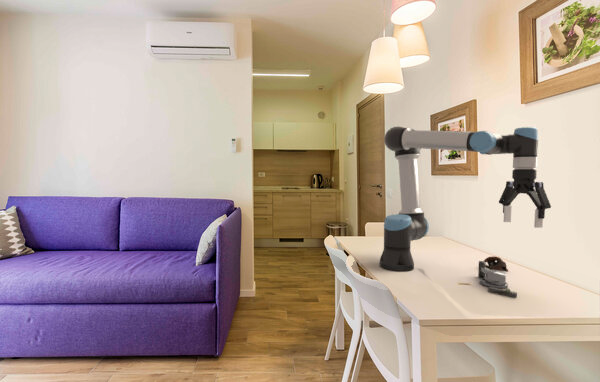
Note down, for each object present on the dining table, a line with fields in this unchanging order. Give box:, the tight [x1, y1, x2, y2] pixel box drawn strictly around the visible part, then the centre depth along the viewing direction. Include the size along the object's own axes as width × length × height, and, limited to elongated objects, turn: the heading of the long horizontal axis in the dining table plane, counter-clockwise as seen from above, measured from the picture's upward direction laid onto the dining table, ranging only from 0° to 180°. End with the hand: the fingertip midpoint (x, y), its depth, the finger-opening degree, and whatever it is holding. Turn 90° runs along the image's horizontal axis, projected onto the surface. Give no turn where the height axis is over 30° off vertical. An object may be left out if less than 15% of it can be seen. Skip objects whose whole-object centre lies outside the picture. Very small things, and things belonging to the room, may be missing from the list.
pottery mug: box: [483, 255, 510, 272], centre depth 139 cm, size 12×10×8 cm
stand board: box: [457, 282, 518, 299], centre depth 119 cm, size 20×19×4 cm
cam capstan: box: [477, 260, 509, 290], centre depth 122 cm, size 14×9×6 cm, turn 176°
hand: (521, 224), depth 123 cm, fingers open, 13 cm apart
